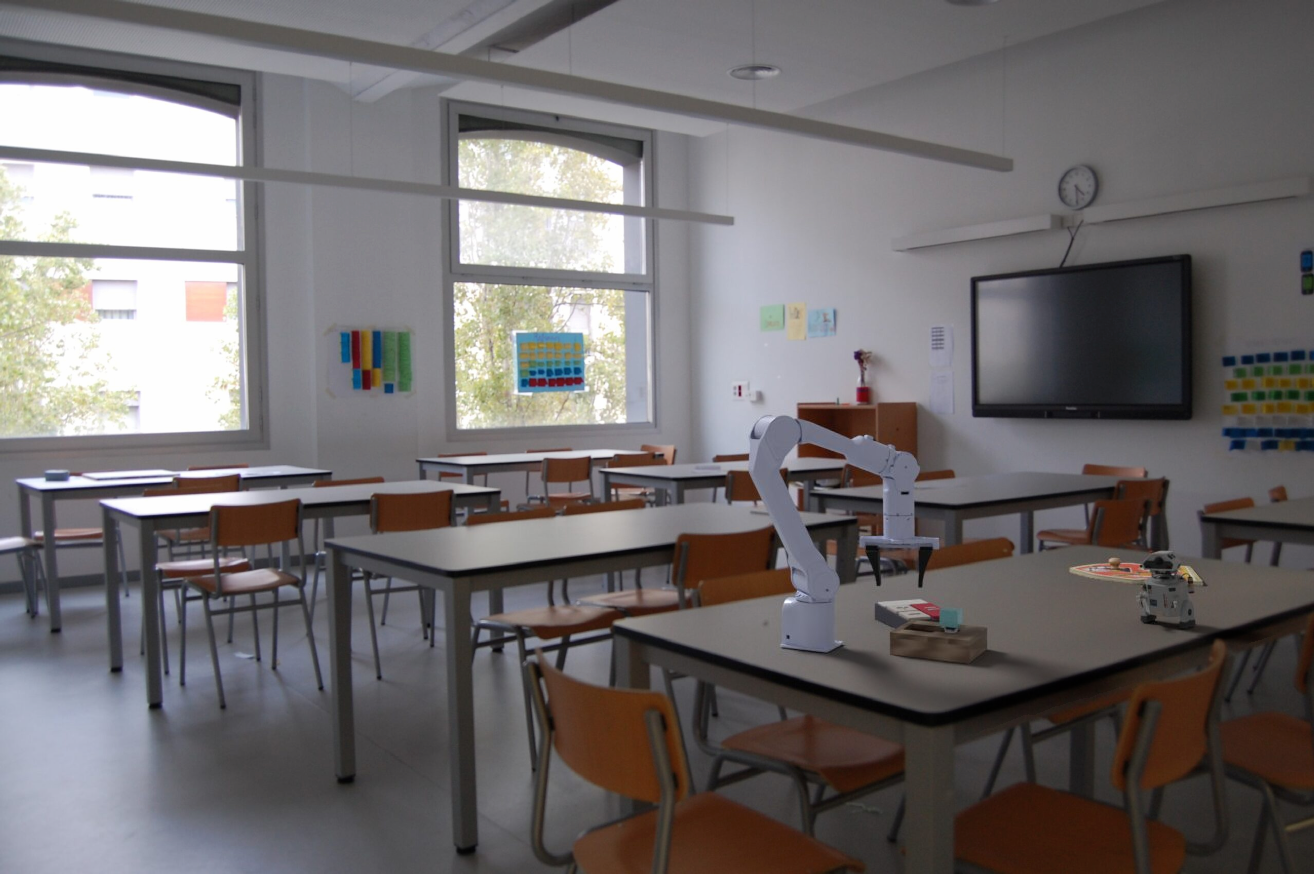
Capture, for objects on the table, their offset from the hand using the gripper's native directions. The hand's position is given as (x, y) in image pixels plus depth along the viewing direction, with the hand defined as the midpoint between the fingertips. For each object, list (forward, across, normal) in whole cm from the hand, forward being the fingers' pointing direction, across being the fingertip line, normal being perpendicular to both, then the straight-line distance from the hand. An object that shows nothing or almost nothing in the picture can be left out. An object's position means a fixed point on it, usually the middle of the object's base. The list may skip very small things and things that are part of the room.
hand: (899, 586), depth 193 cm
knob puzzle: (+11, +51, +88) cm, 102 cm away
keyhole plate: (+10, +7, -7) cm, 15 cm away
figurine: (+11, +49, +24) cm, 56 cm away
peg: (+10, +10, -8) cm, 16 cm away
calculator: (+11, +2, +15) cm, 19 cm away
